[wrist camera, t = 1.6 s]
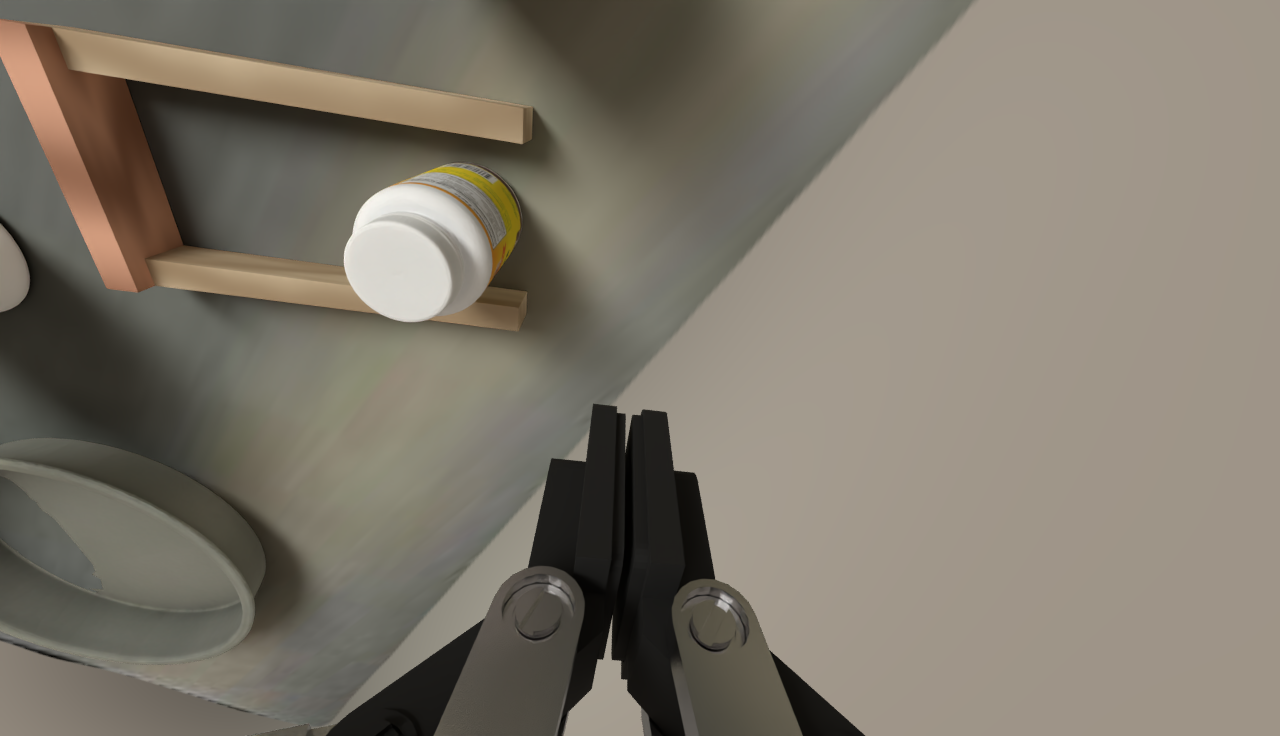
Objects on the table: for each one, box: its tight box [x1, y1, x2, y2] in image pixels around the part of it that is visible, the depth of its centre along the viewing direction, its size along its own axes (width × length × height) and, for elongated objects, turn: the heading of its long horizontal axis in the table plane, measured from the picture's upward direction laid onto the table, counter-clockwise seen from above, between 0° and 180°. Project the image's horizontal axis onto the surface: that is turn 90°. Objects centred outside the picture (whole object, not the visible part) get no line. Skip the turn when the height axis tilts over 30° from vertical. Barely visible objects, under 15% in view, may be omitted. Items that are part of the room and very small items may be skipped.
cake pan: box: [0, 438, 266, 665], centre depth 37 cm, size 25×25×4 cm
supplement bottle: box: [344, 162, 522, 322], centre depth 22 cm, size 6×6×10 cm
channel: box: [0, 19, 533, 331], centre depth 24 cm, size 12×21×4 cm, turn 81°
